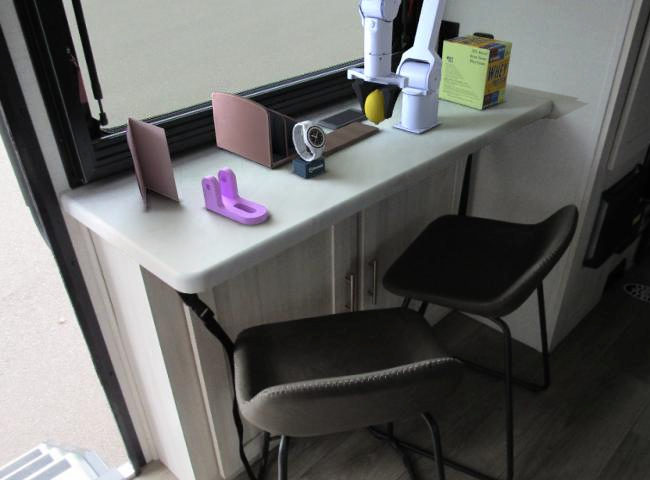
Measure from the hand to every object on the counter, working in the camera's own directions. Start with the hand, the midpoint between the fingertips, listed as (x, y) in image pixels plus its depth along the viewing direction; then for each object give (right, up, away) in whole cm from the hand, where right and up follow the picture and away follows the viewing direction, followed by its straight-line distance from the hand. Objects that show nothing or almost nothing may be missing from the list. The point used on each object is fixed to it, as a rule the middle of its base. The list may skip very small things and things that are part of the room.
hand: (376, 115), depth 129 cm
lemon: (0, -2, +1) cm, 2 cm away
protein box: (+29, +15, +32) cm, 46 cm away
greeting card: (-46, -21, -12) cm, 52 cm away
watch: (-15, -14, -4) cm, 21 cm away
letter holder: (-27, -7, +6) cm, 29 cm away
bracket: (-28, -25, -18) cm, 42 cm away
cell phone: (-7, +5, +21) cm, 23 cm away
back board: (-8, -3, +10) cm, 13 cm away
